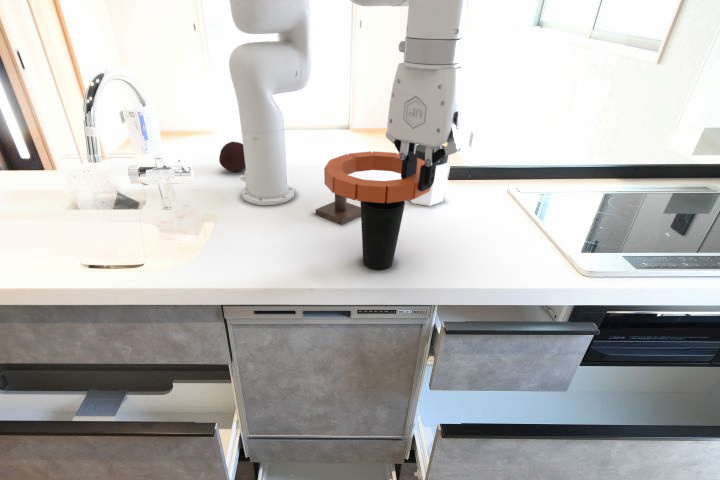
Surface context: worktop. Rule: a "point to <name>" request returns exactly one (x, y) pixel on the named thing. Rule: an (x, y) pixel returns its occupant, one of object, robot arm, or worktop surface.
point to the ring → (371, 189)
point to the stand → (339, 210)
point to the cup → (380, 232)
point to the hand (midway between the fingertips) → (416, 185)
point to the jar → (439, 181)
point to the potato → (232, 157)
